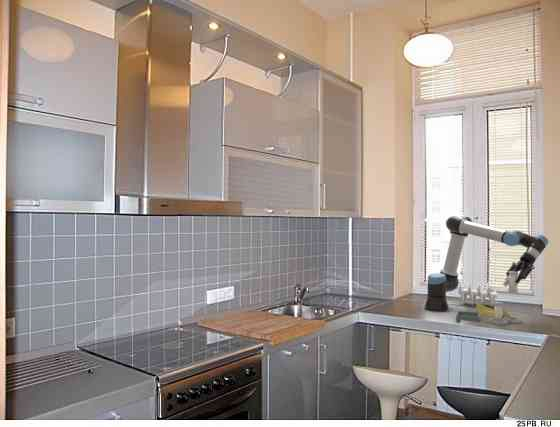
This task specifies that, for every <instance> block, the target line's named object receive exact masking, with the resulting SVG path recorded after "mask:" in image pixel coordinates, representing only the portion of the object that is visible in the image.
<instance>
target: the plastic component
mask: <svg viewBox="0 0 560 427" xmlns="http://www.w3.org/2000/svg"><path fill="white" fill-rule="evenodd" d="M475 307H476V310H477V313H479V315H486V316H490V317H493V318H494V309H493V308H492V307H487V306H485V305H484V304H483V305H482V303H479V302H476V301H475ZM504 317H510V313H508V312H507V311H505V310H503V318H504Z"/></svg>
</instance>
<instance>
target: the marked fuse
mask: <svg viewBox="0 0 560 427" xmlns="http://www.w3.org/2000/svg"><path fill="white" fill-rule="evenodd" d="M517 275H519V271H518V272H517V271H509V284H508V291H507V292H508V293H512V294H516V293H517V294H518V293H519V292H518V291H519V290H518V286H519V285H518V284H519V283H518V284H517V285H516V286H515V287H514V288H512V287H511V283H512V282H513V281H514V279H515V278H516V277H518V276H517Z"/></svg>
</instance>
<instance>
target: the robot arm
mask: <svg viewBox="0 0 560 427" xmlns="http://www.w3.org/2000/svg"><path fill="white" fill-rule="evenodd" d="M445 226H446V228H447V230H448V231H449V233H450V239H449V243H448V244H449V245H448V249H447V253H446V257H445V260H444V264H443V268H442V269H440V271H439V272H440V273H439V272H438V273H430V274H428V276H427V281H426V282H427V297H426V301H425V303H424V309H425V310H427V311H432V312H447V311H449V307H450V306H449V304H448V301H447V292H452V291H454V290H457V289H458V288H459V281H460V279H459V273H458V267H459V262H460V260H461V255H462V251H463V246H464V242H465V239H466V238H468V236H469V235H472V236H476V237H479V238H483V239H486V240H491V241H494V242H498V243H501V244H504V245H506V246H510V247H515V246H521V247H522V246H523V247H525V248H526V249H525V250H524V251H523V253H522V255H521V256H520V257H519V260H518V261H517V262H514V261H513V262H512V264H511V266H510V267H509V269H507V271H506V272H505V276H506V277H505V280H504V281H503V283H502V284H503V286H504V287H505V288H507V286H509V271H517V272H518V275H517V276H518V277H516V278H515V279H514V281H513V282H512V283H511V287H512V288H514V287H515V286H516V285H517V284H519V283H520V281H521V280H526V278H527V277H528V276H529V275H530V273H531V272H532V271H533V270H534V269H535V266H534V264H535V262H536V260H537V259H538V258H539V257H540V255H541V254H542V253H543V251H544V250H545V249H546V247H547V245H548V243H549V240H548V238H547V237H546V236H545V235H542V234H537V235H536V236H533V235H530V234H527V233H524V232H523V231H520V230H516V229H515V230H513V231H507V230H503V229H501V228H500V229H499V228H495V227H492V226H488V225H483V224H479V223H475V222H474V221H473V219H472V218H471V217H470V216H469V215H466V214H451V215H449V216H448V217H447V218H446V220H445Z"/></svg>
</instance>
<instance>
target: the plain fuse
mask: <svg viewBox="0 0 560 427" xmlns="http://www.w3.org/2000/svg"><path fill="white" fill-rule="evenodd" d="M503 307H504V302H503V301H496V300H494V303H493V308H494V317H493V318H494V320H496V321H503V318H504V317H503V311H504V308H503Z"/></svg>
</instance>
